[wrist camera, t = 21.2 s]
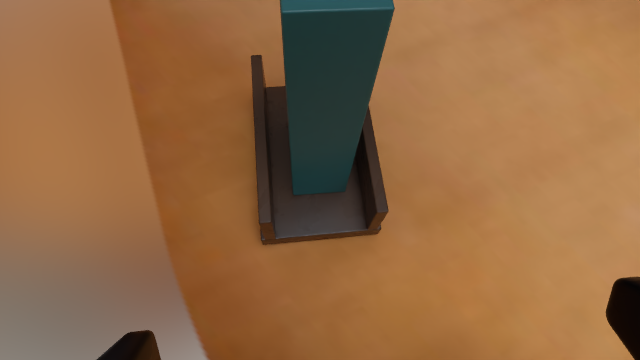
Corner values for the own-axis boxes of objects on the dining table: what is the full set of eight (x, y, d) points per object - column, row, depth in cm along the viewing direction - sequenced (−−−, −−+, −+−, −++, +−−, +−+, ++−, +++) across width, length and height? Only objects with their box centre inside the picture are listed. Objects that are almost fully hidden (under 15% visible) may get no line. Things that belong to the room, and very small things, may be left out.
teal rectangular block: (345, 192, 22) (395, 8, 10) (292, 195, 22) (281, 12, 10) (336, 117, 24) (368, -110, 12) (287, 120, 24) (272, -109, 12)
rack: (378, 233, 22) (393, 211, 18) (262, 244, 22) (254, 224, 18) (353, 90, 26) (361, 48, 22) (255, 97, 26) (247, 55, 22)
